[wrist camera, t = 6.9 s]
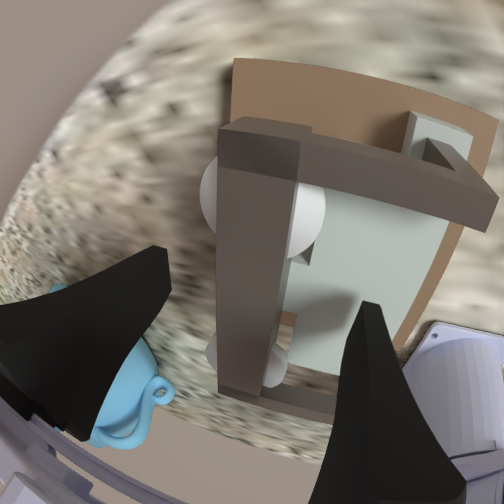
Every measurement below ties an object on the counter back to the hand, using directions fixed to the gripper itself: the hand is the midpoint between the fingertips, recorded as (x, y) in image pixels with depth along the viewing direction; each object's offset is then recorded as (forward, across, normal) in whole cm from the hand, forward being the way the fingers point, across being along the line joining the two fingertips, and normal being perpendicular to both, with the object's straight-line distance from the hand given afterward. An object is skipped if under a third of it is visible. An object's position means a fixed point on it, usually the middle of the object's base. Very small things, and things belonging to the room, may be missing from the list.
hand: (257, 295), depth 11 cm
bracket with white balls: (+4, -2, 0) cm, 4 cm away
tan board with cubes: (+7, -3, 0) cm, 7 cm away
